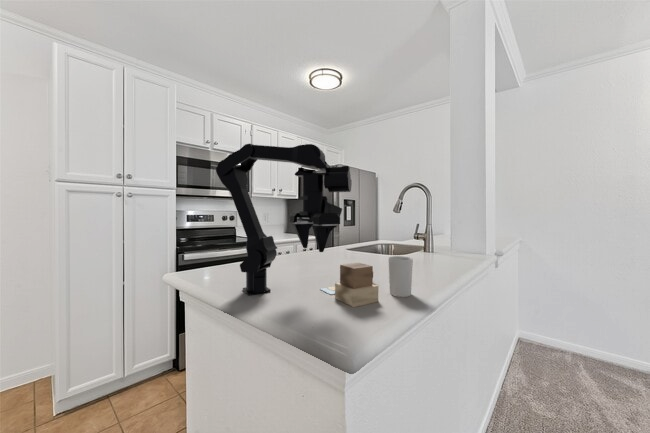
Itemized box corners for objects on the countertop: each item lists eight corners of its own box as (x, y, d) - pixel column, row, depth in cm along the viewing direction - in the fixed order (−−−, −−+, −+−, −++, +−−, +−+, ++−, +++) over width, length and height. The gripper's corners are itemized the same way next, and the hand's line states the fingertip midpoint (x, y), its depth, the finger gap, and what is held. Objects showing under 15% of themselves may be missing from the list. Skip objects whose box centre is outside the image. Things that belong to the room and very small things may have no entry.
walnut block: (340, 283, 72) (340, 264, 72) (358, 280, 75) (358, 262, 75) (353, 288, 67) (353, 268, 67) (372, 285, 70) (372, 266, 70)
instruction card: (319, 289, 80) (319, 288, 80) (344, 285, 85) (344, 284, 85) (330, 294, 75) (330, 293, 75) (356, 290, 80) (356, 289, 80)
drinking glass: (397, 298, 72) (397, 260, 72) (383, 291, 78) (383, 256, 78) (417, 295, 74) (418, 259, 74) (403, 289, 81) (403, 255, 81)
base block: (335, 298, 72) (335, 283, 72) (358, 293, 76) (358, 279, 76) (353, 307, 65) (353, 290, 65) (378, 301, 70) (378, 285, 69)
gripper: (357, 191, 70) (357, 252, 70) (321, 195, 86) (321, 244, 86) (320, 189, 65) (320, 255, 65) (288, 194, 81) (288, 247, 81)
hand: (312, 249), depth 74 cm, fingers open, 9 cm apart
